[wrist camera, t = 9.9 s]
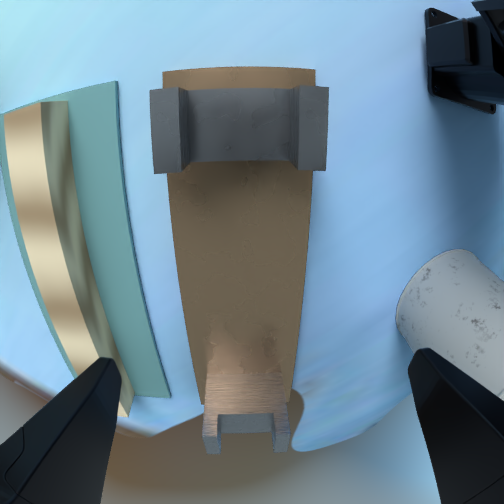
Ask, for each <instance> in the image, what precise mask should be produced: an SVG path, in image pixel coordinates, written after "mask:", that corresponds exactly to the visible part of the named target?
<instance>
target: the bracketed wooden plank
mask: <svg viewBox="0 0 504 504" xmlns="http://www.w3.org/2000/svg"><path fill="white" fill-rule="evenodd" d="M328 98H329V87H319V86H315V70H314V69H301V68H285V67H215V68H198V69H186V70H175V71H166V72H163V89H155V90H150V118H151V137H152V153H153V166H154V174H162V173H167V180H168V192H169V203H170V213H171V223H172V232H173V241H174V249H175V257H176V265H177V272H178V279H179V286H180V293H181V299H182V306H183V312H184V318H185V324H186V330H187V336H188V341H189V347H190V352H191V357H192V362H193V367H194V372H195V377H196V382H197V387H198V392H199V396H200V401H201V404H203V405H204V419H203V432H202V438H203V441H204V444H205V448H206V451H207V454H220V452H221V433H260V432H272V440H273V450H274V453H276V452H287V449H288V445H289V440H290V435H291V433H290V426H289V419H288V412H287V405H286V402H289V400H290V394H291V387H292V381H293V374H294V366H295V359H296V351H297V344H298V336H299V327H300V319H301V310H302V301H303V292H304V282H305V271H306V261H307V249H308V237H309V224H310V210H311V194H312V176H313V171H326V155H327V133H328Z"/></svg>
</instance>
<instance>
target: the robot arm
mask: <svg viewBox="0 0 504 504" xmlns="http://www.w3.org/2000/svg"><path fill="white" fill-rule="evenodd" d="M471 3H472V4H473V6H474V7H475V9H476V11H479V13H480V14H481V16H476V17H472V18H467V19H465V18H462V19H458V18H456V17H454V16H451V15H449V14H447V13H444V12H442V11H440V10H437V9H435V8H429V9H426V10H425V19H426V43H427V63H428V91H429V93H430V94H431V95H432V96H434V97H438V98H442V99H445V100H449V101H452V102H455V103H459V104H462V105H465V106H468V107H471V108H474V109H477V110H480V111H482V112H485V113H488V114H494V113H495V112H496V104H499V105H504V0H474V1H472V2H471ZM431 13H433V15H434V17H433V16H432V14H431ZM435 86H436V88H437V92H435V89H434V88H435ZM408 375H409V379H410V384H411V388H412V393H413V397H414V402H415V407H416V411H417V415H418V418H419V422H420V424H421V428H422V431H423V435H424V438H425V441H426V445H427V448H428V452H429V456H430V459H431V463H432V467H433V471H434V475H435V478H436V483H437V487H438V491H439V496H440V500H441V504H504V401H503V400H502V399H501V398H499V397H498V396H496V395H495V394H494V393H492V392H491V391H490V390H488V389H487V388H486V387H484V386H483V385H481V384H480V383H479V382H477V381H476V380H474V379H473V378H472V377H470V376H469V375H468V374H466V373H465V372H463V371H462V370H461V369H459V368H458V367H456V366H455V365H454V364H452V363H451V362H449V361H448V360H447V359H445V358H444V357H442V356H441V355H439V354H438V353H437V352H435V351H434V350H432V349H431V348H429V347H426V348H420V349H418V350H416V352H415V354H414V356H413V358H412V360H411V362H410V365H409V367H408ZM121 385H122V377H121V374H120V372H119V369H118V367H117V365H116V362H115V360H114V359H113V358H109V357H100V358H98V359H97V360H96V361H95V362H93V363H92V364H91V365H90V366H89V367H88V368H87V369H86V370H84V371H83V372H82V373H81V374H80V375H79V376H78V377H76V378H75V379H74V380H73V381H72V382H71V383H70V384H68V385H67V386H66V387H65V388H64V389H63V390H62V391H61V392H59V393H58V394H57V395H56V396H55V397H54V398H53V399H52V400H51V401H49V402H48V403H47V404H46V405H45V406H44V407H43V408H42V409H41V410H39V411H38V412H37V413H36V414H35V415H34V416H33V417H32V418H31V419H29V421H27V422H26V423H25V424H24V425H23V427H20V428H19V429H18V430H17V431H16V432H15V433H14V434H13V435H12V436H10V437H9V438H8V439H7V440H6V441H5V442H4V443H2V444H1V445H0V504H100V503H101V497H102V491H103V486H104V480H105V475H106V470H107V465H108V460H109V456H110V451H111V446H112V442H113V438H114V433H115V429H116V423H117V415H118V407H119V400H120V392H121Z"/></svg>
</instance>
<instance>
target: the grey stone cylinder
mask: <svg viewBox="0 0 504 504" xmlns="http://www.w3.org/2000/svg"><path fill="white" fill-rule="evenodd" d="M396 324H397V328H398V330H399V331H400V333H401V335H402V336H404V338H405V340H406V341H407V343H408V345H409V346H410V348H411V350H412V352H413V353H414V354H415V352H416V350H418V349H420V348H426V347H429V348H431V349H432V350H434V351H435V352H437V353H438V354H439V355H441V356H442V357H444V358H445V359H447V360H448V361H449V362H451V363H452V364H454V365H455V366H456V367H458V368H459V369H461V370H462V371H463V372H465V373H466V374H468V375H469V376H470V377H472V378H473V379H474V380H476V381H477V382H479V383H480V384H481V385H483V386H484V387H486V388H487V389H488V390H490V391H491V392H492V393H494V394H495V395H496V396H498V397H499V398H501V399H502V400H503V401H504V282H503V281H502V280H501V279H500V278H499V277H498V276H497V275H495V274H494V273H493V272H492V271H491V270H490V269H489V268H488V267H486V266H485V265H484V264H483V263H482V262H481V261H479V260H478V258H477V257H476V256H475V255H474V254H473V253H472V252H469V251H467V250H464V249H453V250H449V251H446V252H443V253H441V254H439V255H437V256H435V257H434V258H432V259H431V260H430V261H428V262H427V263H426V264H424V265H423V266H422V267H421V268H420V269H419V270H418V271H417V272H416V273H415V274H414V276H413V277H412V278H411V280H410V281H409V282H408V284H407V285H406V287H405V289H404V291H403V293H402V294H401V296H400V299H399V302H398V305H397V310H396Z"/></svg>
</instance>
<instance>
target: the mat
mask: <svg viewBox="0 0 504 504" xmlns="http://www.w3.org/2000/svg"><path fill="white" fill-rule="evenodd" d="M66 100H68V118H69V133H70V145H71V155H72V163H73V172H74V179H75V186H76V192H77V199H78V205H79V210H80V216H81V221H82V226H83V231H84V236H85V240H86V245H87V249H88V253H89V257H90V262H91V266H92V269H93V273H94V277H95V281H96V284H97V288H98V291H99V295H100V298H101V302H102V305H103V308H104V311H105V315H106V318H107V321H108V324H109V327H110V330H111V333H112V335H113V338H114V341H115V344H116V347H117V349H118V352H119V355H120V357H121V360H122V363H123V365H124V368H125V370H126V373H127V375H128V378H129V380H130V382H131V385H132V387H133V389H134V392H135V394H134V395H138V396H148V397H161V398H170V397H171V394H170V391H169V387H168V384H167V381H166V378H165V375H164V371H163V368H162V364H161V361H160V358H159V354H158V350H157V347H156V343H155V339H154V336H153V332H152V328H151V324H150V320H149V316H148V312H147V308H146V303H145V299H144V294H143V290H142V285H141V281H140V276H139V271H138V266H137V261H136V255H135V250H134V244H133V238H132V232H131V226H130V220H129V213H128V206H127V199H126V191H125V183H124V174H123V165H122V154H121V142H120V128H119V110H118V81H112V82H107V83H102V84H98V85H93V86H89V87H85V88H81V89H77V90H73V91H69V92H65V93H62V94H58V95H55V96H52V97H48V98H45V99H42V100H39V101H36V102H33V103H30V104H27V105H24V106H21V107H18V108H16V109H13V110H10V111H8V112H5V113H3V114H0V160H1V167H2V173H3V179H4V185H5V191H6V196H7V201H8V205H9V210H10V214H11V219H12V223H13V227H14V231H15V234H16V238H17V242H18V245H19V249H20V252H21V255H22V258H23V262H24V265H25V268H26V271H27V274H28V277H29V279H30V282H31V285H32V288H33V291H34V293H35V296H36V298H37V301H38V303H39V306H40V308H41V311H42V313H43V316H44V318H45V320H46V323H47V325H48V327H49V329H50V332H51V334H52V336H53V338H54V340H55V342H56V344H57V346H58V348H59V350H60V352H61V354H62V356H63V358H64V360H65V362H66V364H67V366H68V368H69V370H70V372H71V373H72V375H73V377H74V379H75V378H76V377H78V375H77V373H76V372H75V370H74V368H73V366H72V364H71V362H70V360H69V358H68V356H67V354H66V352H65V350H64V348H63V345H62V343H61V341H60V339H59V337H58V335H57V332H56V330H55V328H54V326H53V323H52V321H51V318H50V316H49V314H48V311H47V309H46V306H45V304H44V301H43V298H42V296H41V293H40V290H39V287H38V285H37V282H36V279H35V276H34V273H33V270H32V267H31V263H30V260H29V257H28V254H27V250H26V247H25V243H24V239H23V236H22V232H21V228H20V224H19V220H18V215H17V211H16V206H15V201H14V196H13V191H12V185H11V179H10V173H9V166H8V159H7V150H6V141H5V129H4V115H5V114H7V113H10V112H13V111H15V110H18V109H21V108H24V107H27V106H30V105H33V104H36V103H39V102H49V101H66Z"/></svg>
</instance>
